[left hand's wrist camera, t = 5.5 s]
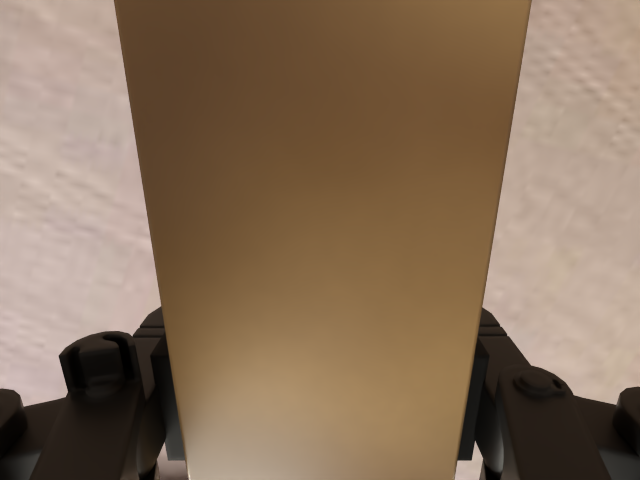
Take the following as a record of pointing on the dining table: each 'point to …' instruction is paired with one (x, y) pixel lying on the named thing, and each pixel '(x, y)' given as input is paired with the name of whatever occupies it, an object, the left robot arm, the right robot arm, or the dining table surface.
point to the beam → (322, 222)
